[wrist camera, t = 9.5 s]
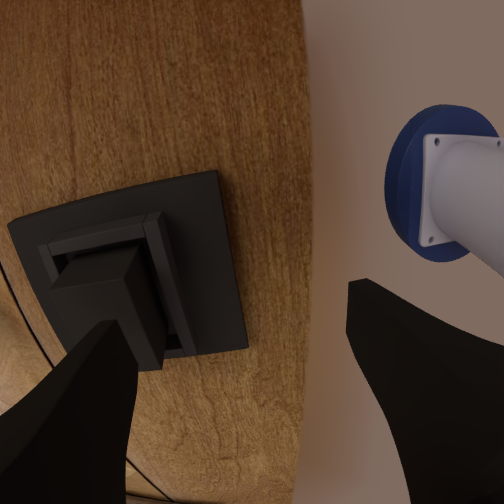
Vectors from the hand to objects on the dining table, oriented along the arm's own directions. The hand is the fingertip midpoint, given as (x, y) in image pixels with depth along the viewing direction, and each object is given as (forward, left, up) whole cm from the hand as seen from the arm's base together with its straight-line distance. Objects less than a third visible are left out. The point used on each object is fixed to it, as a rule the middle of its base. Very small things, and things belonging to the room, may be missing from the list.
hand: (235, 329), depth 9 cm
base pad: (+7, +3, -9) cm, 12 cm away
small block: (+7, +3, -8) cm, 11 cm away
